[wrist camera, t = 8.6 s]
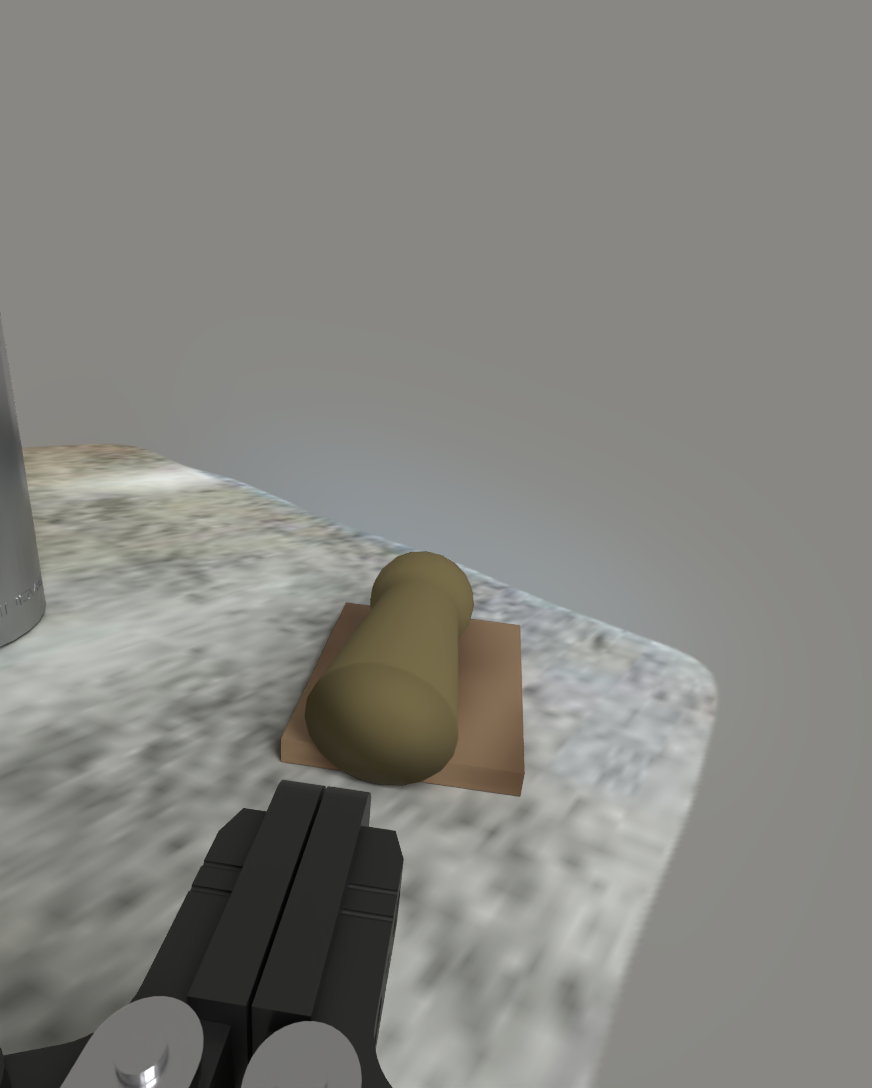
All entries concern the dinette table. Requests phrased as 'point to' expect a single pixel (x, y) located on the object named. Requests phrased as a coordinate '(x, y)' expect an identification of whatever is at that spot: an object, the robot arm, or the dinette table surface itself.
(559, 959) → the dinette table surface
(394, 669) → the cork
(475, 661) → the walnut board
